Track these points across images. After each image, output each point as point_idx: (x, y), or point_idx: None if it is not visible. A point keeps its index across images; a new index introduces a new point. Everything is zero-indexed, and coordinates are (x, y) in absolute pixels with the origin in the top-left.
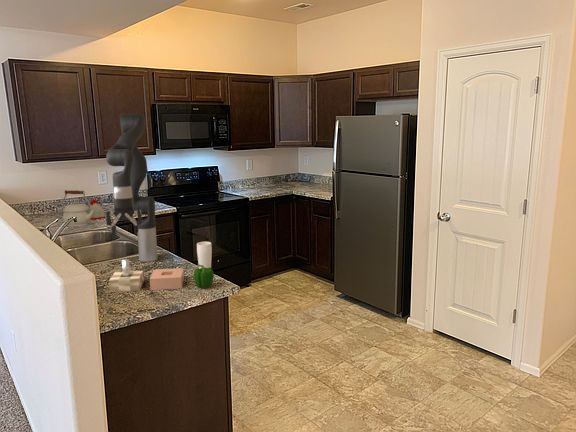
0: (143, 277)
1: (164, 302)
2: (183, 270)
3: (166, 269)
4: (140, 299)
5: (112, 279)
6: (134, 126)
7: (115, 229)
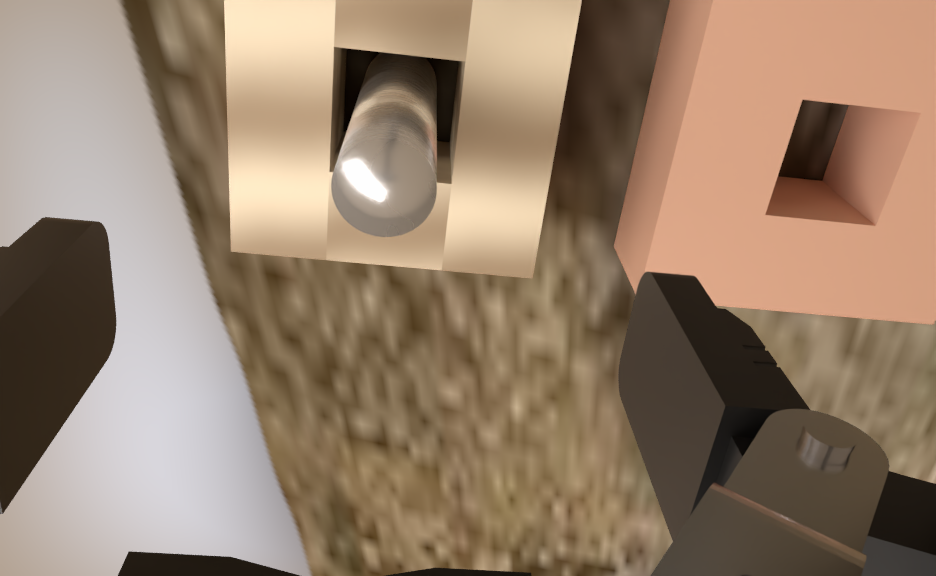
0: None
1: None
2: None
3: (872, 9)
4: (529, 413)
5: (261, 220)
6: None
7: (46, 380)
